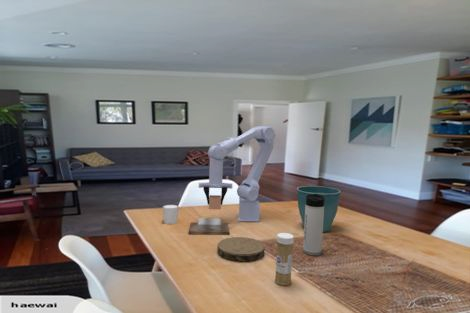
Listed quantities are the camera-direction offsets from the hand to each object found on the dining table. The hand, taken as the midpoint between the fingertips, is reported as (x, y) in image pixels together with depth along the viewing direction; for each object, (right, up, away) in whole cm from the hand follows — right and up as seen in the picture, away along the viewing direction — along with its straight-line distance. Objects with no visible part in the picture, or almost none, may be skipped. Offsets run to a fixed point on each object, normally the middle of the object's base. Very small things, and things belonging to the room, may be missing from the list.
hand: (214, 204), depth 142 cm
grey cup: (-19, -8, 0) cm, 21 cm away
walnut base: (-2, -9, -8) cm, 13 cm away
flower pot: (+44, -10, -1) cm, 45 cm away
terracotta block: (0, -2, 0) cm, 2 cm away
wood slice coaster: (+11, -12, -31) cm, 35 cm away
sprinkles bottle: (+22, -14, -52) cm, 58 cm away
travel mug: (+36, -13, -29) cm, 47 cm away
